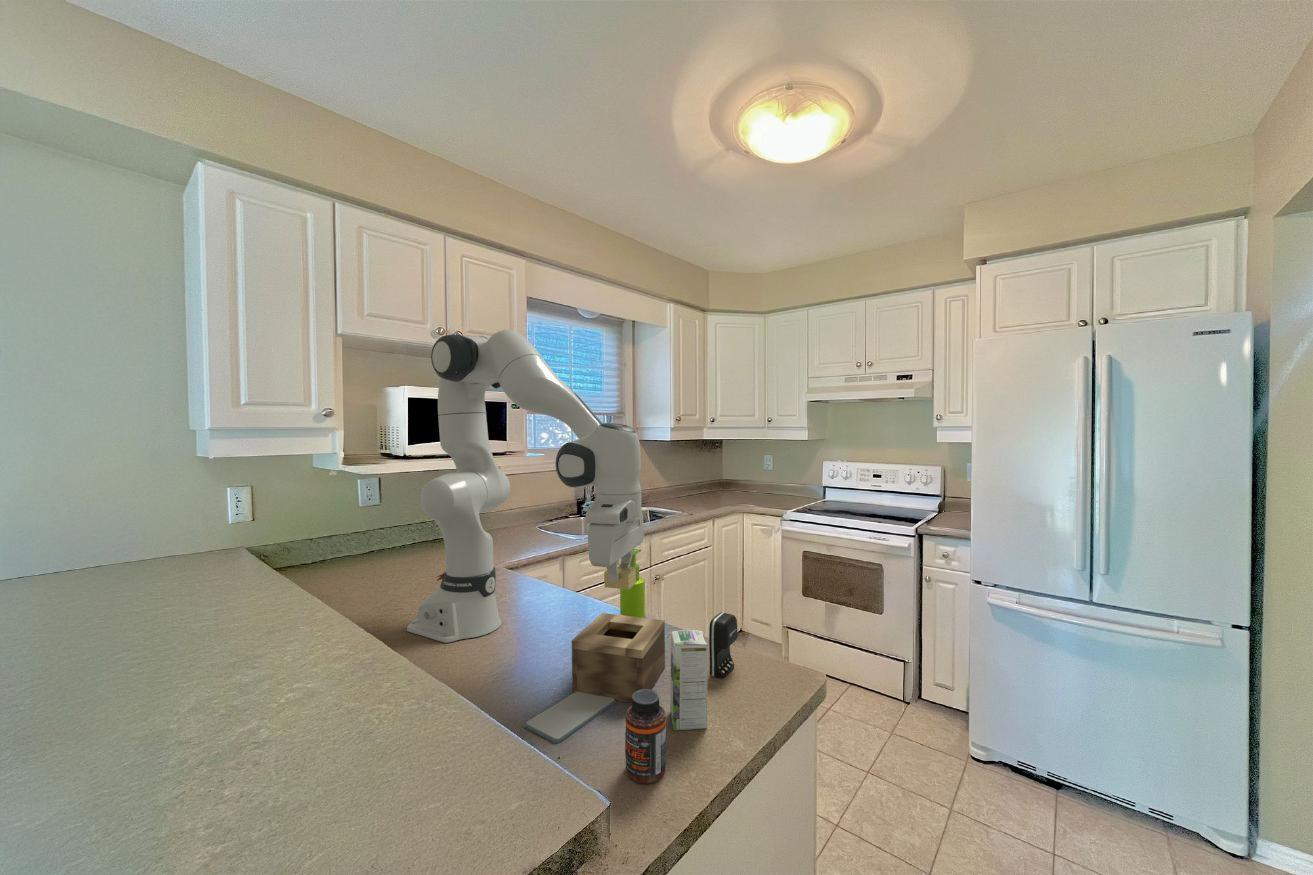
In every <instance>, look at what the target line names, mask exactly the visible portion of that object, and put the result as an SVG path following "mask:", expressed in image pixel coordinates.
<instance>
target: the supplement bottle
mask: <svg viewBox="0 0 1313 875" xmlns="http://www.w3.org/2000/svg"><path fill="white" fill-rule="evenodd" d="M660 703H661V702H660V695H659V693H658V692H657V691H656V690H654V689H652V690H650V689H642V690H638V691H636V692H635V693H634V694H633V695H632V703H631V705H630V706H629V707H628V709H626V712H625V718H624V721H625V722H624V728H625V730H624V733H625V734H624V735H625V736H624V742H625V744H624V746H625V747H624V748H625V749H624V752H625V753H624V755H625V757H624V759H625V760H624V763H625V772H626V773H625V774H626V775H627V777H628V778H630V779H631V780H632V781H633V782H635V783H639V784H647V785H648V784H653V783H656V782H657V781H659V780H660V779H661V778H663V776H664V775H665V772H666V768H667V767H666V766H667V764H666V762H667V760H666V758H667V755H666V753H667V752H666V751H667V737H666V736H667V731H666V730H667V726H666V725H667V723H666V722H667V719H666V718H667V717H666V715H667V714H666V711H665V709H664V708H663V707H662V705H661V704H660Z"/></svg>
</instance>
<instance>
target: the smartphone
mask: <svg viewBox="0 0 1313 875" xmlns="http://www.w3.org/2000/svg"><path fill="white" fill-rule="evenodd" d="M616 702H617V700H615V699H614V698H609V697H604V696H598V695H592V694H587V693H581V692H574V693H570V694H568V695H567V696H566V697H565V698H562V699H561V700H560V701H558V702H556V703H554V704H553V705H551V706H549V707H548V708H546V709H545V710H543V711H541V712H540V713H538V714H536V715H534V716H533V717H531V718H529V719H528V720H526V721H525V723H524V727H525V729H526V730H529V731H531V732H533V733H534V734H537V735H539V736H540V737H542V738H544V739H546V740H548V741H550V742H551V743H553V744H560V743H561V742H563V741H564V740H566V739H567V738H568V737H570V736H572V735H573V734H574V733H576V732H577V731H579V730H580V729H581V728H583V727H584V726H586V725H587V724H589V722H591V721H592V720H594V719H595V718H597V717H598V716H600V715H601V714H602V713H604V712H605V711H606V710H608V709H609V708H611V707H612V706H613V705H615V704H616Z"/></svg>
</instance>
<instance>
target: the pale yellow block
mask: <svg viewBox="0 0 1313 875" xmlns="http://www.w3.org/2000/svg"><path fill="white" fill-rule="evenodd" d="M618 571H620V580H619V581H617V582H616V583H615V582H610V581H609V573H608V570H607V569H606V570H605V571H604V572H603V574H604V575H603V576H604V577H603V578H604V581H603V582H604V584H603V585H604V586H603V587H604V588H606V589H607V588H609V589H617V590H618V589H619V590H620V589H628V590H629V589H630V588H631V587H632V586H633V585H634V584H635V583H636V568H629V567H619V566H618Z"/></svg>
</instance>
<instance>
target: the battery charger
mask: <svg viewBox="0 0 1313 875" xmlns="http://www.w3.org/2000/svg"><path fill="white" fill-rule="evenodd" d="M708 627H709V628H708V629H709V633H708V634H709V637H708V639H709V640H708V643H709V644H708V646H709V647H708V648H709V649H708V650H709V652H708V653H709V675H710V677H713V678H718V679H724V678H726V677H727V676H728V675H729V674H730V673H731V671H732V670H733V669H734V668H735V662H734V660H733V658H732V656H731V648H730V647H731V645H732V644H734V643H735V642H736V641H737V639H738V637H739V634H738V632H739V630H738V620H737V617H736V615H734V614H731V613H727V612H719V613H718V614H716V615H715V616H714V617H713V618H712V619H711V620H710V623H709V626H708Z"/></svg>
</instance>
